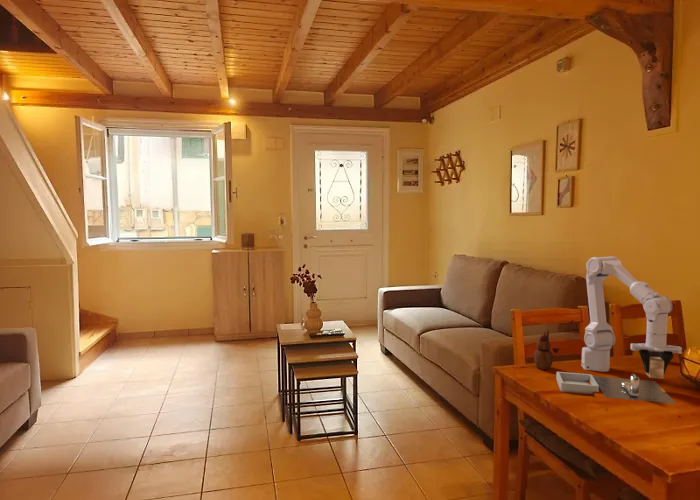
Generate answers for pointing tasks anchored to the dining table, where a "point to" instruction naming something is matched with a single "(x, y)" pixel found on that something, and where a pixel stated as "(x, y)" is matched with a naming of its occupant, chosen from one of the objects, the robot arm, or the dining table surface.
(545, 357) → the wooden figurine
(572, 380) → the tray
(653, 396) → the base plate
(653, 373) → the block
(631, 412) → the dining table surface
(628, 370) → the dining table surface
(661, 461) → the dining table surface
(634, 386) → the crank
